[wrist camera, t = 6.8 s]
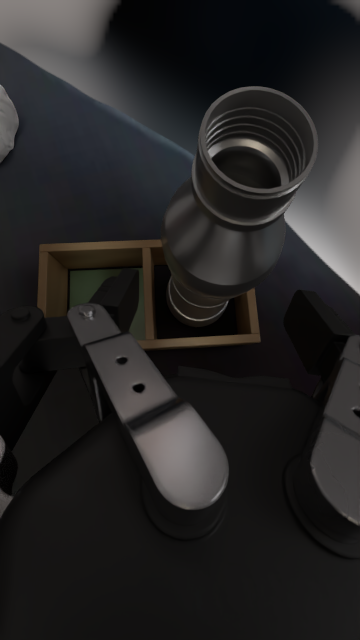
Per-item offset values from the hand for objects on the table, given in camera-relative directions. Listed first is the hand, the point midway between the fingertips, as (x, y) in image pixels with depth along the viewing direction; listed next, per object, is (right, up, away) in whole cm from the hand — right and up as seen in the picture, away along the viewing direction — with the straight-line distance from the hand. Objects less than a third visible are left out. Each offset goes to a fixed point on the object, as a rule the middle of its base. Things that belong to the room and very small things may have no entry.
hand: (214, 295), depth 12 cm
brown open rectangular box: (-5, +1, +14) cm, 15 cm away
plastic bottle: (0, +1, +15) cm, 15 cm away
